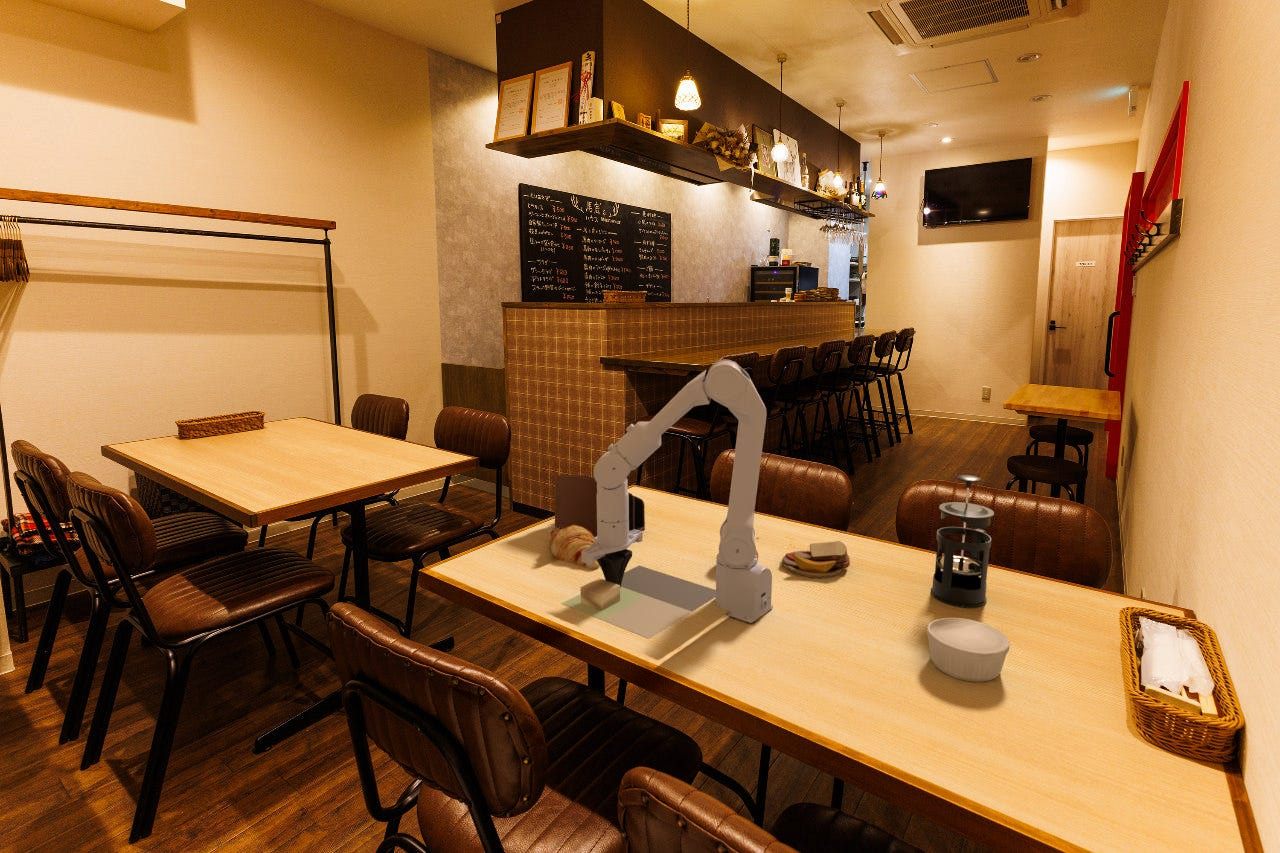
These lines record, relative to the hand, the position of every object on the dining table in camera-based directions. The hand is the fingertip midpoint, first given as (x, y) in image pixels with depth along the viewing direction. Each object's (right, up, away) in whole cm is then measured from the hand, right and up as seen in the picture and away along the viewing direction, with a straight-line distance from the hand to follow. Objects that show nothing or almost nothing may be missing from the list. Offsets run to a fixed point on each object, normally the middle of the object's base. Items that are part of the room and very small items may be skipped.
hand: (613, 588), depth 123 cm
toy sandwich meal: (+41, 0, +16) cm, 44 cm away
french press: (+64, -2, +2) cm, 64 cm away
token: (-2, -2, -3) cm, 4 cm away
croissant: (-9, +1, +21) cm, 23 cm away
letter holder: (-5, +5, +38) cm, 39 cm away
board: (+5, -2, -1) cm, 6 cm away
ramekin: (+54, -7, -22) cm, 58 cm away
